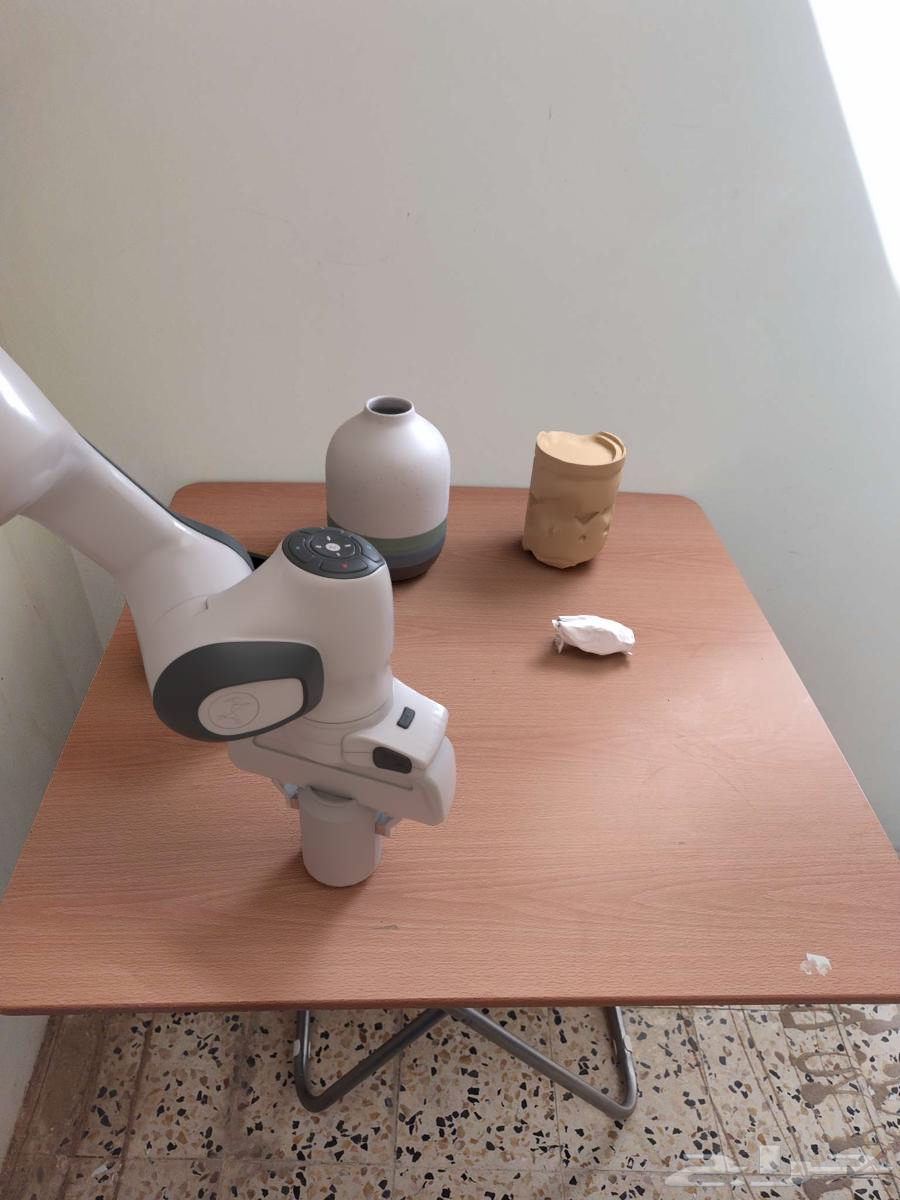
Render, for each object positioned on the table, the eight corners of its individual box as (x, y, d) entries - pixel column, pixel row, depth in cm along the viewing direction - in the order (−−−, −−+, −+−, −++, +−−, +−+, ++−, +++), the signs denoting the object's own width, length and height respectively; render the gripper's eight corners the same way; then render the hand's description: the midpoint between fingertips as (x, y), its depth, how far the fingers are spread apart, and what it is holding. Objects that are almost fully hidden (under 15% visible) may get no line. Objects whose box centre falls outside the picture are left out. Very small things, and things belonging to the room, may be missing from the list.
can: (335, 813, 81) (332, 730, 74) (396, 848, 78) (399, 765, 71) (286, 867, 76) (278, 784, 69) (350, 906, 73) (348, 824, 66)
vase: (443, 596, 111) (455, 438, 97) (321, 590, 111) (314, 429, 96) (444, 531, 125) (454, 383, 110) (335, 525, 124) (331, 375, 110)
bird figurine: (563, 674, 102) (640, 656, 102) (555, 628, 99) (635, 610, 99) (555, 654, 106) (629, 637, 106) (547, 610, 103) (623, 593, 103)
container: (512, 531, 126) (526, 425, 115) (588, 527, 128) (608, 423, 117) (534, 578, 116) (551, 467, 105) (615, 572, 119) (640, 463, 108)
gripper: (203, 703, 65) (222, 811, 73) (444, 771, 61) (435, 877, 69) (241, 654, 70) (255, 761, 78) (467, 714, 65) (456, 820, 74)
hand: (341, 816), depth 73 cm, fingers closed on can, 7 cm apart
